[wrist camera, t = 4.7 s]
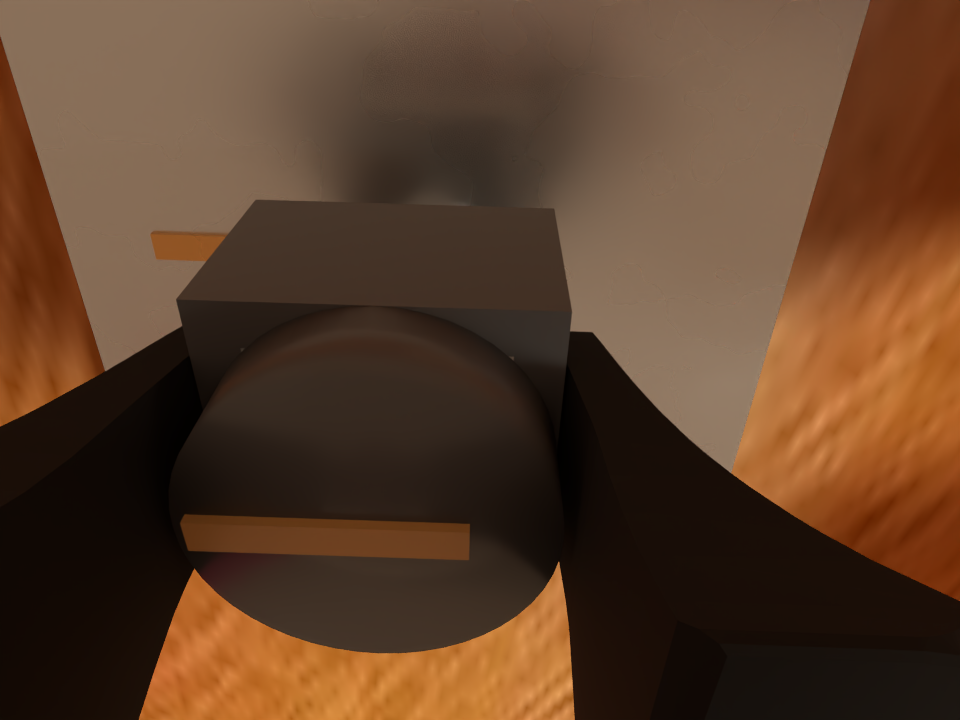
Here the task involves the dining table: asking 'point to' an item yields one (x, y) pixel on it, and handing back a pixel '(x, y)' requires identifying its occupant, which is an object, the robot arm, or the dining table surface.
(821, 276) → the dining table surface
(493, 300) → the knob
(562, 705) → the dining table surface
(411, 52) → the flat square panel
